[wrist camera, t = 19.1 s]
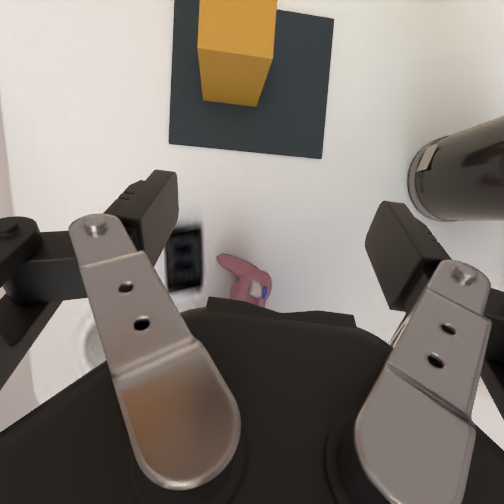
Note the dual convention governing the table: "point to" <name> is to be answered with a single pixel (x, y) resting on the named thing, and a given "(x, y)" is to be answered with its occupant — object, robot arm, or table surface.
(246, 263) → the video game controller
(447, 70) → the table surface
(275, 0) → the block
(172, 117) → the mat
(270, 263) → the table surface
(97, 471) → the robot arm
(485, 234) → the table surface
